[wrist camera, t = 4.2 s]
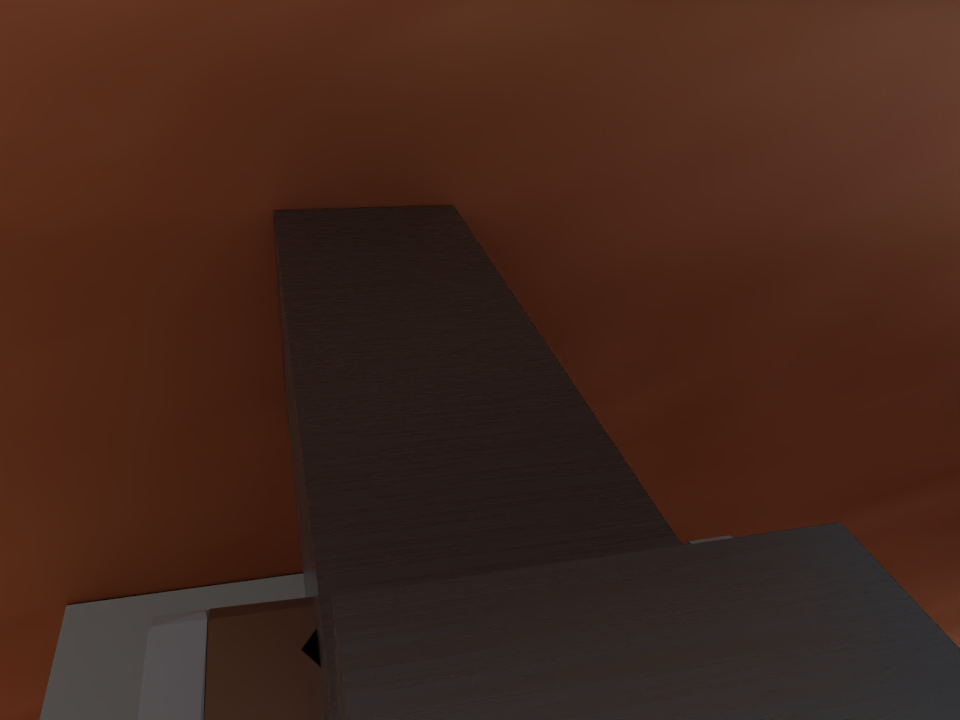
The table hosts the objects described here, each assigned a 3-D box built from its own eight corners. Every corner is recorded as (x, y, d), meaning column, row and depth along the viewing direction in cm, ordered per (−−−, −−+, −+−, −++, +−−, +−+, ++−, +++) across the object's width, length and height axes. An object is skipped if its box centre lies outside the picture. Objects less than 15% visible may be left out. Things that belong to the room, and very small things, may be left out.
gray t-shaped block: (457, 116, 13) (1156, 857, 3) (441, 463, 17) (754, 1341, 7) (266, 116, 12) (400, 1084, 2) (291, 479, 16) (389, 1493, 6)
